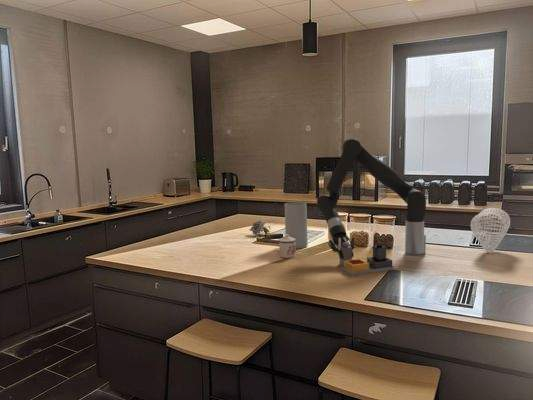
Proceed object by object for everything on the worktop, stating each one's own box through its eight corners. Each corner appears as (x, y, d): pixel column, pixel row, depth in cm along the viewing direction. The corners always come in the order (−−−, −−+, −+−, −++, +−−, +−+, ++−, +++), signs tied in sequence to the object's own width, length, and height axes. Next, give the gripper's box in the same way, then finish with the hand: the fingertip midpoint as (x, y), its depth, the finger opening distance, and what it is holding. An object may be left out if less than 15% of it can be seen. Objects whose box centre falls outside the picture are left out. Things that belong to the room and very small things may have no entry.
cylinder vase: (307, 243, 249) (306, 201, 246) (307, 249, 237) (306, 205, 233) (286, 243, 250) (285, 202, 247) (285, 249, 238) (283, 205, 235)
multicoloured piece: (383, 264, 203) (383, 239, 202) (394, 269, 195) (394, 243, 193) (342, 269, 198) (341, 243, 196) (350, 275, 189) (350, 248, 187)
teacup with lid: (289, 259, 218) (288, 237, 217) (275, 256, 224) (274, 235, 223) (302, 254, 227) (302, 232, 226) (289, 251, 233) (288, 231, 232)
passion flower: (256, 244, 275) (245, 229, 275) (264, 237, 284) (253, 223, 284) (267, 236, 268) (255, 221, 269) (275, 229, 277) (264, 215, 278)
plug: (347, 263, 208) (347, 241, 206) (351, 265, 204) (351, 243, 202) (339, 264, 207) (339, 242, 205) (343, 266, 203) (343, 244, 201)
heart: (501, 262, 199) (503, 216, 196) (466, 257, 209) (467, 213, 206) (511, 248, 221) (513, 207, 218) (478, 245, 231) (480, 205, 227)
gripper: (325, 225, 208) (336, 255, 198) (351, 222, 212) (363, 252, 202) (321, 233, 214) (331, 263, 204) (346, 231, 217) (358, 260, 208)
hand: (347, 257), depth 203 cm, fingers closed on plug, 4 cm apart
